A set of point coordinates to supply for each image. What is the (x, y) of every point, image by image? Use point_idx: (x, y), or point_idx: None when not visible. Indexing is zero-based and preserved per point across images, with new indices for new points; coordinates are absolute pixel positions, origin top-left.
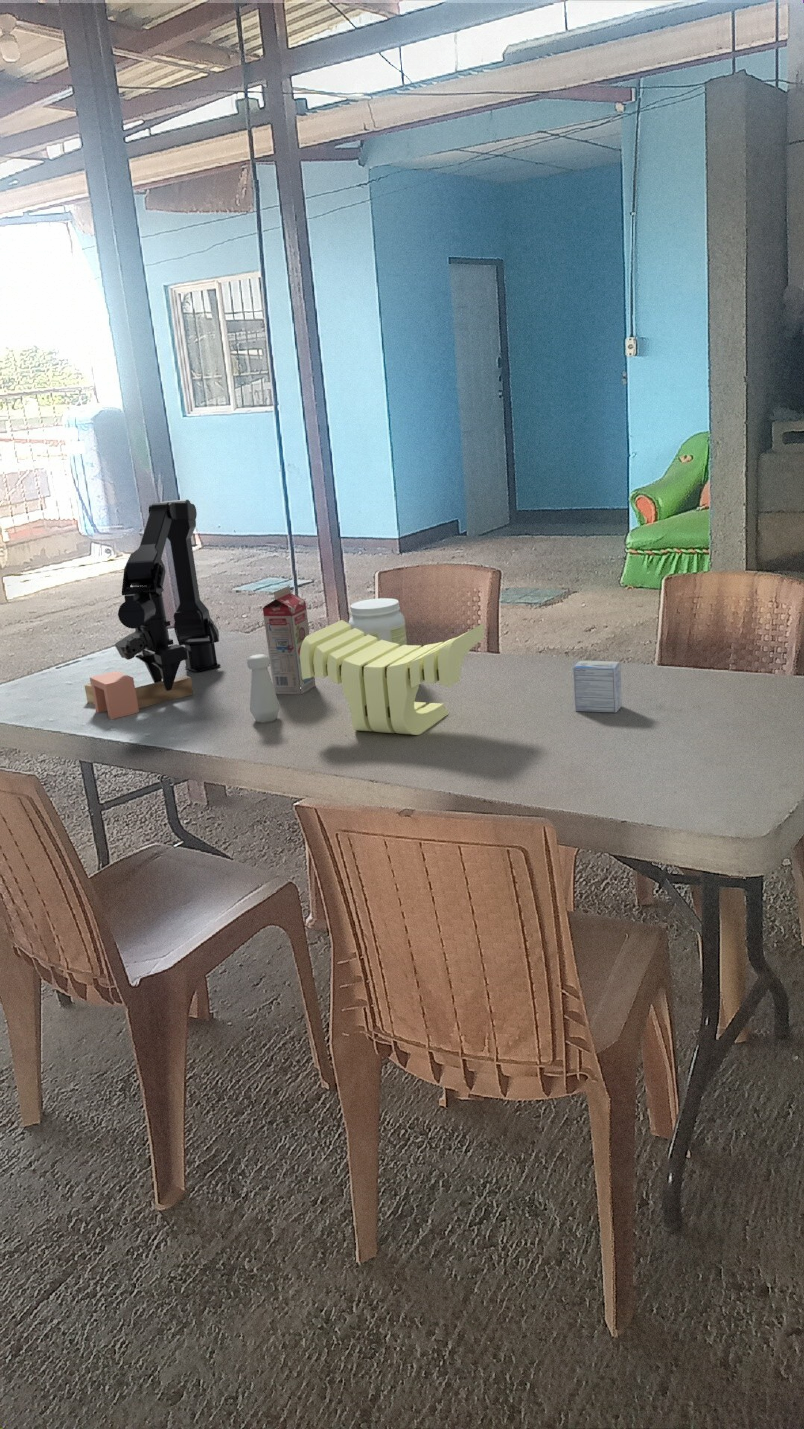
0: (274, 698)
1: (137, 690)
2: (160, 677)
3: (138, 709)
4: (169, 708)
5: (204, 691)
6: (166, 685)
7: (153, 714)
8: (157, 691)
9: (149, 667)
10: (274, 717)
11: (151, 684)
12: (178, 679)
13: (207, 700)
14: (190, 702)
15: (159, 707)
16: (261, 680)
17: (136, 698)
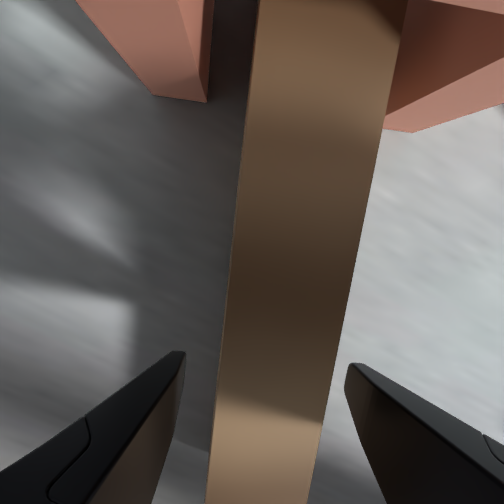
0: None
1: (259, 145)
2: (369, 443)
3: (146, 86)
4: (62, 251)
5: (199, 499)
6: (147, 373)
7: (20, 122)
8: (226, 303)
9: (497, 489)
10: None
11: (317, 324)
12: (239, 500)
13: (27, 440)
14: (73, 375)
15: (138, 229)
16: None
17: (114, 45)
